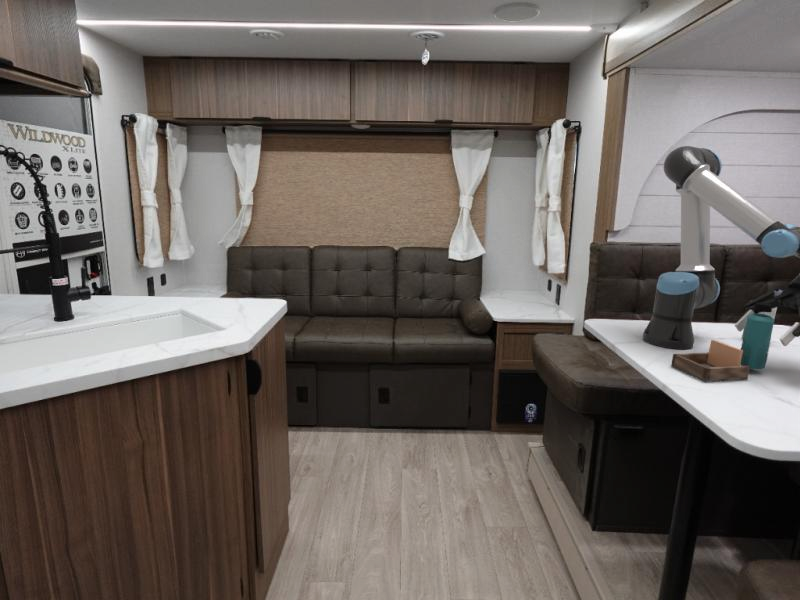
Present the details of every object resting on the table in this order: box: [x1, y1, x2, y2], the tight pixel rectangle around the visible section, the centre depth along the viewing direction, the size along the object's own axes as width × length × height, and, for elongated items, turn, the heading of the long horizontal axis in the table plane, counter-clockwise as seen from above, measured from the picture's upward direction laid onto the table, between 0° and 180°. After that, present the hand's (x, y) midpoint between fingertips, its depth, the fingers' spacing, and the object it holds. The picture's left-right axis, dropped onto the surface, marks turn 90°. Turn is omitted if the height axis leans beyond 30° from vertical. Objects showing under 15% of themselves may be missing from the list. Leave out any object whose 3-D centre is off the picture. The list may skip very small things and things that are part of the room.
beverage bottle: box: [740, 302, 775, 371], centre depth 138 cm, size 6×7×20 cm
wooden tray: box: [670, 351, 751, 383], centre depth 137 cm, size 14×12×4 cm
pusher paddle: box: [707, 339, 743, 367], centre depth 137 cm, size 1×9×7 cm, turn 13°
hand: (758, 335), depth 137 cm, fingers open, 13 cm apart
